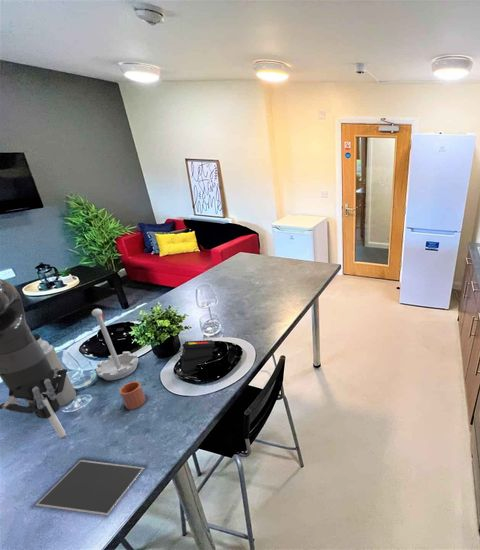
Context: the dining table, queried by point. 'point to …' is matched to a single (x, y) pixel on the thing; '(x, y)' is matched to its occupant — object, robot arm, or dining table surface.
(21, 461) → the dining table surface
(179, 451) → the dining table surface
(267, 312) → the dining table surface
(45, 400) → the stylus
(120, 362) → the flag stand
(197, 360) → the striped top black block
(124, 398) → the pen cup
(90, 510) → the tablet
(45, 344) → the thermos bottle
